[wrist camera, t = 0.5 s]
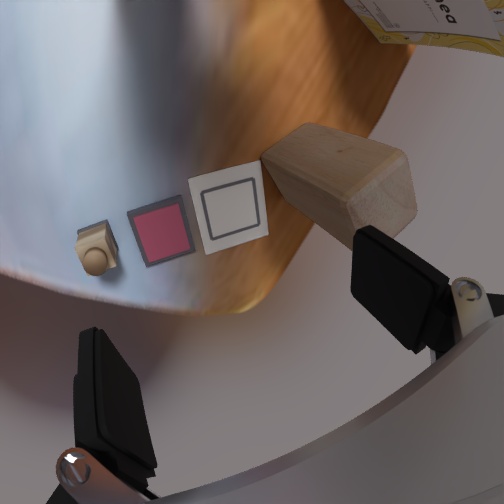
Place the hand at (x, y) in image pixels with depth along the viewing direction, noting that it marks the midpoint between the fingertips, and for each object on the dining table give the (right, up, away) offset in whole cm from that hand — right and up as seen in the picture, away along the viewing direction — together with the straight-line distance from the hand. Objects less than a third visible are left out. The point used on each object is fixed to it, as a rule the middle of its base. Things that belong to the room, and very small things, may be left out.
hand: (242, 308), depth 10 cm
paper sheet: (-3, +9, +36) cm, 37 cm away
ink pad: (-13, +5, +33) cm, 36 cm away
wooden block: (+7, +16, +36) cm, 40 cm away
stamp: (-22, +4, +29) cm, 37 cm away
